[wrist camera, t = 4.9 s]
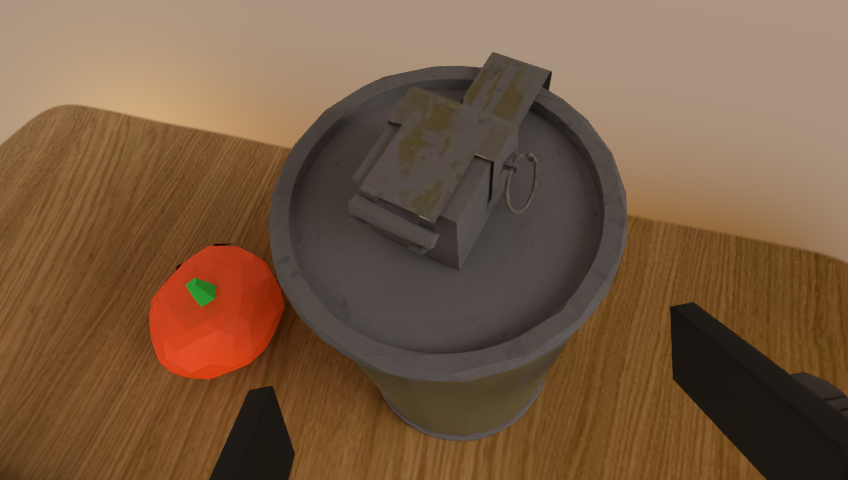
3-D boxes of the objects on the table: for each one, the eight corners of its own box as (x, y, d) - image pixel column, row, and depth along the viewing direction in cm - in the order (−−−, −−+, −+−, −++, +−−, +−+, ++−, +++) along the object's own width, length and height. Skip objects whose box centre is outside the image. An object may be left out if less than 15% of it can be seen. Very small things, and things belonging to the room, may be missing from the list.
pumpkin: (153, 357, 32) (82, 328, 26) (228, 251, 35) (179, 203, 29) (244, 410, 30) (189, 391, 24) (316, 293, 33) (283, 251, 27)
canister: (501, 478, 27) (554, 455, 9) (338, 384, 30) (139, 228, 12) (577, 304, 31) (721, 48, 13) (427, 236, 34) (374, -50, 16)
